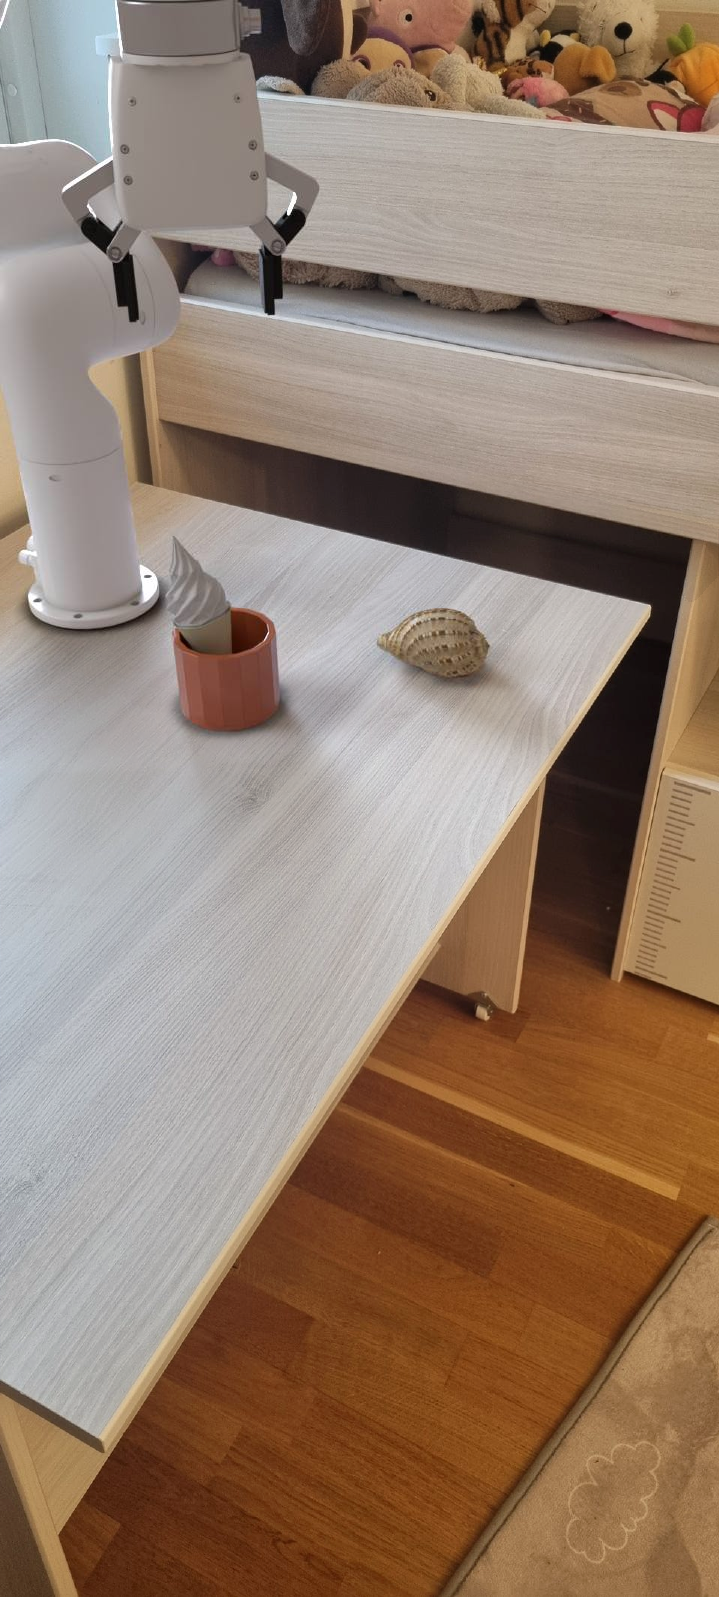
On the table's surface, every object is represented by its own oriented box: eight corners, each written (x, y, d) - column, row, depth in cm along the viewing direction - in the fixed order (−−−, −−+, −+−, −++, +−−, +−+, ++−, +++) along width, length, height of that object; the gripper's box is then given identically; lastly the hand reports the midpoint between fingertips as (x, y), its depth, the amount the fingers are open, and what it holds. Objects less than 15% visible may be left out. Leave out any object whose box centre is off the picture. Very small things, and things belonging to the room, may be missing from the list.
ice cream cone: (203, 690, 104) (146, 531, 96) (258, 676, 104) (206, 515, 96) (201, 718, 100) (141, 554, 92) (259, 704, 100) (204, 538, 92)
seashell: (392, 711, 106) (497, 677, 102) (363, 657, 103) (470, 619, 99) (402, 666, 112) (502, 631, 108) (374, 613, 109) (476, 576, 105)
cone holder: (160, 710, 102) (151, 639, 97) (224, 667, 107) (217, 597, 103) (237, 742, 98) (230, 669, 93) (299, 695, 103) (295, 624, 99)
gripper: (307, 22, 79) (314, 292, 90) (41, 27, 77) (80, 303, 88) (322, 35, 73) (328, 322, 84) (35, 42, 71) (78, 335, 82)
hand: (201, 312), depth 86 cm, fingers open, 9 cm apart
